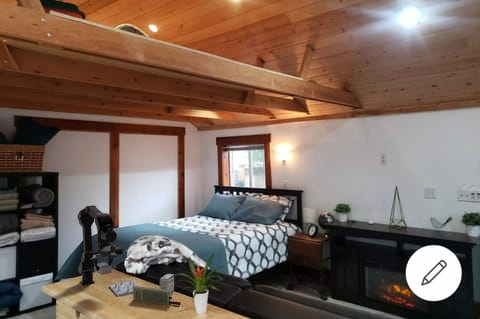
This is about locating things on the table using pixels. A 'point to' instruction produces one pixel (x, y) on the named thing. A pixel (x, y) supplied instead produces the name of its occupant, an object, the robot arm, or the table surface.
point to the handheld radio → (153, 295)
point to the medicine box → (167, 282)
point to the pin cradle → (123, 287)
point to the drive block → (103, 268)
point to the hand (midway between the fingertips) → (103, 269)
